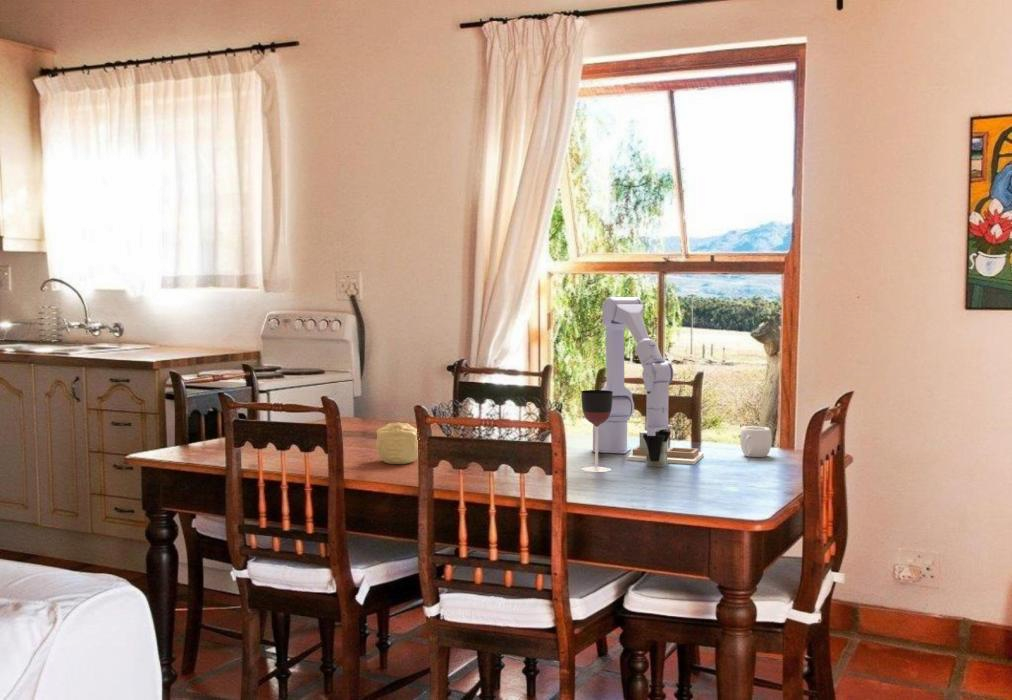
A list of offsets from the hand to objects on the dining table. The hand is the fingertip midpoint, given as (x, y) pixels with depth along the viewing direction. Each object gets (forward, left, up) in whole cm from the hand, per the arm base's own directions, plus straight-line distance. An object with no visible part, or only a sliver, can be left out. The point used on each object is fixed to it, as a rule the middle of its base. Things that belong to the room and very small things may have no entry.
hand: (656, 459), depth 274 cm
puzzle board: (0, +11, -1) cm, 11 cm away
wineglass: (-13, -12, -2) cm, 18 cm away
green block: (0, 0, -1) cm, 1 cm away
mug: (+22, +22, -2) cm, 31 cm away
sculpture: (-65, -21, -2) cm, 68 cm away
